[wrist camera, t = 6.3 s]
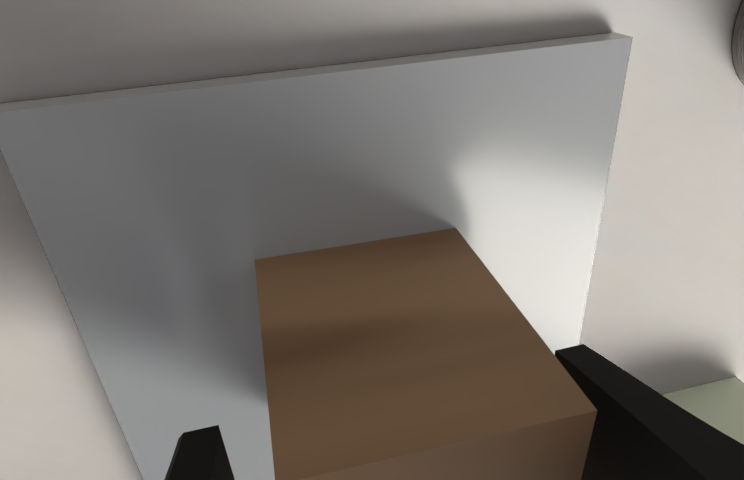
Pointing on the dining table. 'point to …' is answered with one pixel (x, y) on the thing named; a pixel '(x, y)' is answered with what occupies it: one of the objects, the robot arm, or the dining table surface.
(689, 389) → the sage box
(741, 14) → the grey cylinder
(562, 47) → the slate tile
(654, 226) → the dining table surface
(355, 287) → the walnut block
